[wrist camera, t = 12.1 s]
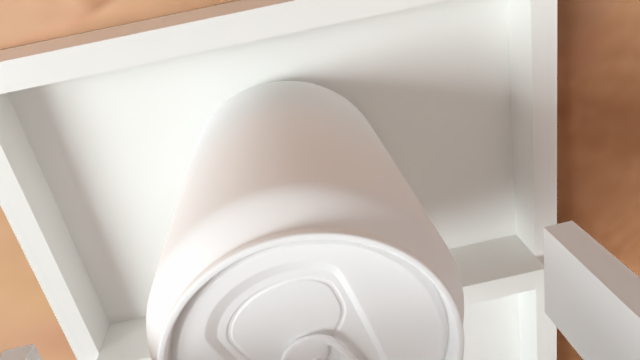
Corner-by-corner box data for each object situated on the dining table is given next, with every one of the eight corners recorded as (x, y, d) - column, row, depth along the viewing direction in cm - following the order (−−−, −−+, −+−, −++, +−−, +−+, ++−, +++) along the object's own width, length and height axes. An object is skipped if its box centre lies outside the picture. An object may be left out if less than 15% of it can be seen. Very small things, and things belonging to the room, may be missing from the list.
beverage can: (321, 38, 21) (390, 139, 10) (409, 193, 24) (533, 395, 13) (152, 141, 22) (52, 334, 11) (259, 277, 25) (261, 530, 14)
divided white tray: (529, 413, 33) (565, 475, 29) (178, 494, 32) (168, 568, 29) (516, -58, 22) (572, -58, 18) (-22, 54, 21) (-83, 79, 17)
